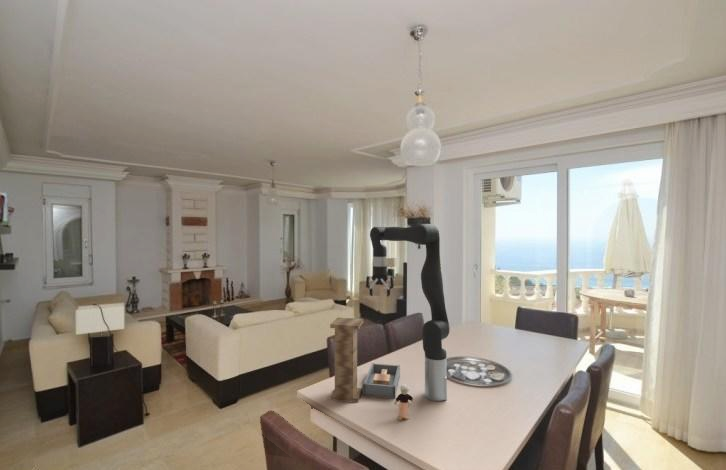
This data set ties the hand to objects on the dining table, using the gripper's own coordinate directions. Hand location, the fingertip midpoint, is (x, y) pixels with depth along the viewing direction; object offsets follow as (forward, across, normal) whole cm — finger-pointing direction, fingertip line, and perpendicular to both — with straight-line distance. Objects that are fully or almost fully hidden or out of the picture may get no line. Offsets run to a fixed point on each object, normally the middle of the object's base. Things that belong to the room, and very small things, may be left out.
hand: (379, 296), depth 175 cm
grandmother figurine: (+38, -16, +44) cm, 60 cm away
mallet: (+37, -4, +16) cm, 41 cm away
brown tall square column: (+38, +10, +30) cm, 50 cm away
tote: (+38, -4, +18) cm, 42 cm away
